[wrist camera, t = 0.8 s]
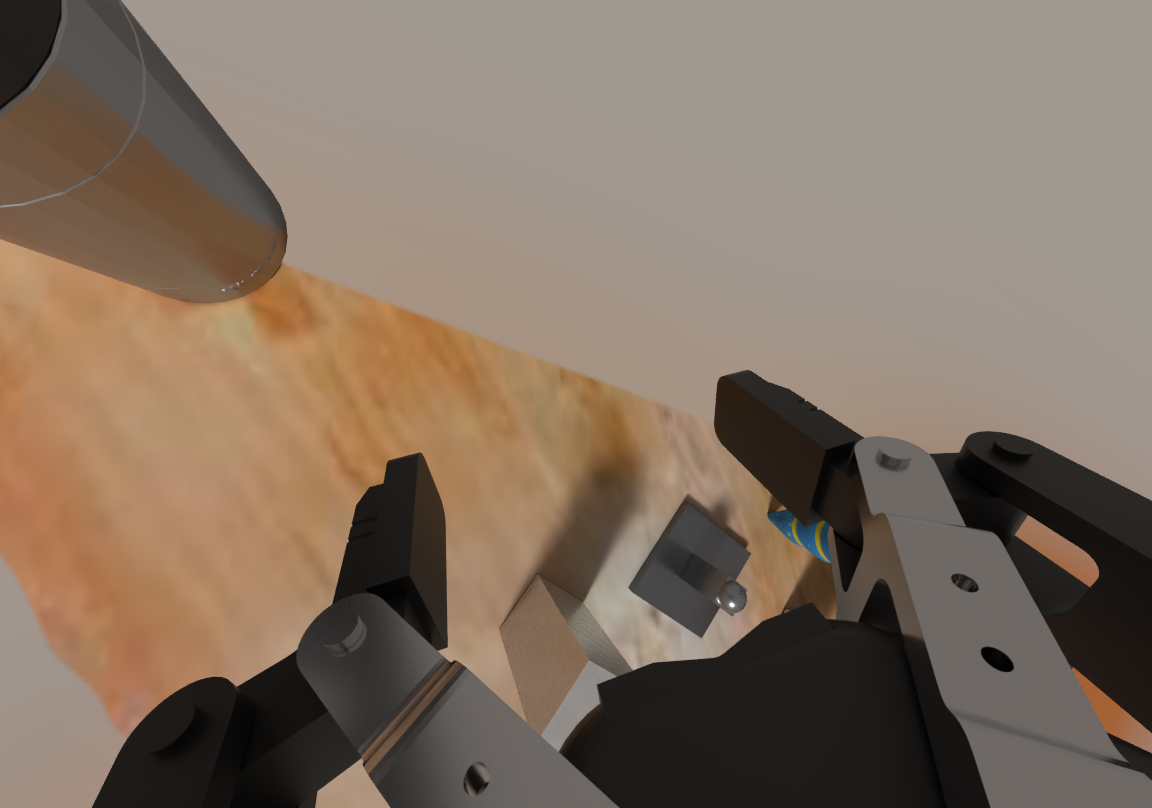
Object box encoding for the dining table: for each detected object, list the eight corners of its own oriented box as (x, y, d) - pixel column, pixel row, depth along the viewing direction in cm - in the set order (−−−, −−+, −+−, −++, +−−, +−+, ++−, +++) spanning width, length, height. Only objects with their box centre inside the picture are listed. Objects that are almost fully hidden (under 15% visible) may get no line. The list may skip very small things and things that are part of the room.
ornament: (788, 536, 42) (972, 613, 28) (748, 546, 40) (922, 633, 26) (787, 486, 42) (973, 538, 28) (746, 493, 40) (922, 553, 26)
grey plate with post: (626, 586, 36) (670, 630, 30) (680, 500, 38) (734, 523, 31) (693, 631, 39) (748, 680, 32) (742, 548, 40) (803, 580, 34)
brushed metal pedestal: (498, 629, 32) (534, 746, 22) (537, 573, 33) (588, 660, 23) (547, 656, 33) (602, 777, 23) (583, 602, 34) (651, 695, 24)
